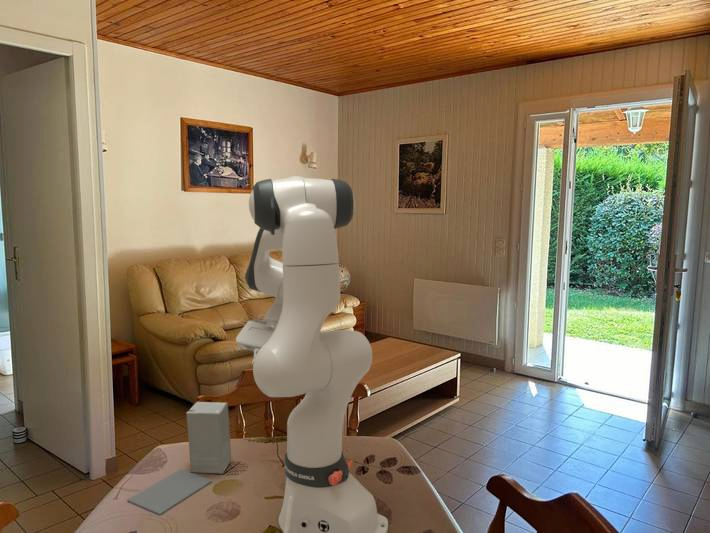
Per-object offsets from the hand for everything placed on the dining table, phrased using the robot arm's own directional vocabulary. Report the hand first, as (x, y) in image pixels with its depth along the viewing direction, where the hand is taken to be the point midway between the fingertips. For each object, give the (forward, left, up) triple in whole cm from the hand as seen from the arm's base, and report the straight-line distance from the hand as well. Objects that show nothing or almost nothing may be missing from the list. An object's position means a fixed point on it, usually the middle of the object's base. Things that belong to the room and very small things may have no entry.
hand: (256, 365), depth 141 cm
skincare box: (0, +18, -21) cm, 28 cm away
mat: (0, +30, -21) cm, 36 cm away
